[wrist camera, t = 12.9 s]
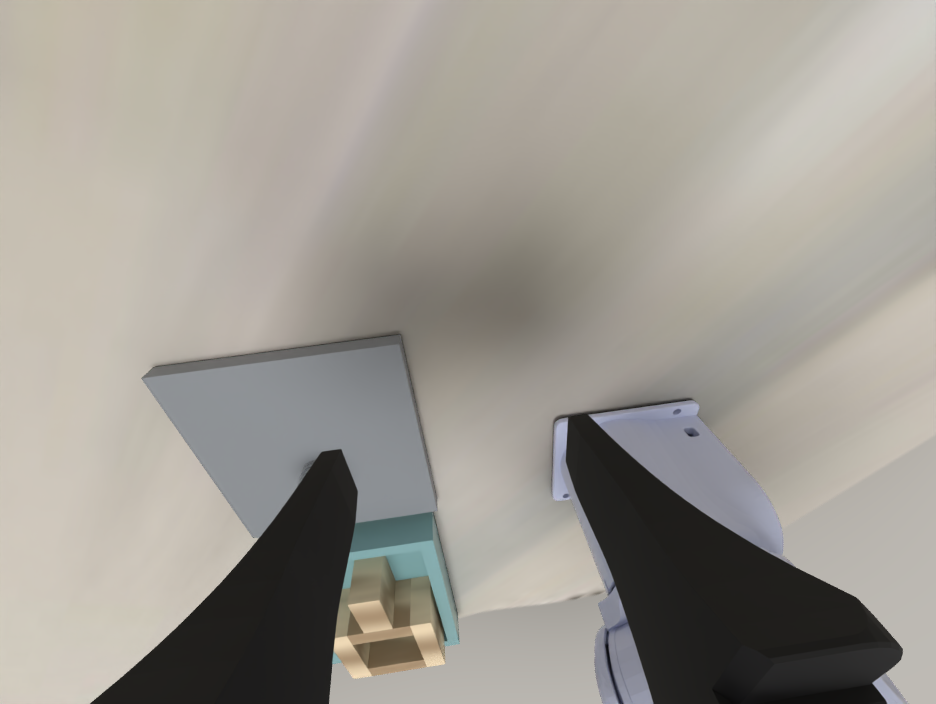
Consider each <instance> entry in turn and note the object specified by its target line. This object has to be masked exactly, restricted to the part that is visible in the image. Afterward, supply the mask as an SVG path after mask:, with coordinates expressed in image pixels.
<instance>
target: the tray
mask: <svg viewBox="0 0 936 704" xmlns="http://www.w3.org/2000/svg"><path fill="white" fill-rule="evenodd" d="M380 556H386V558H387V560H388V563H389V565H390V568H391V570H392V573H393V575H394V578H395V580H396V581H398V580H404V579H410V578H417V577H423V576H429V580H430V583H431V586H432V590H433V593H434V597H435V600H436V603H437V607H438V610H439V614H440V617H441V620H442V624H443V627H444V644H445V646H450V645H456V644H459V629H458V614H457V610H456V605H455V601H454V597H453V593H452V589H451V585H450V580H449V576H448V572H447V568H446V564H445V559H444V555H443V551H442V547H441V543H440V539H439V534H438V530H437V526H436V522H435V518H434V513H433V512H428V513H421V514H414V515H407V516H401V517H394V518H387V519H380V520H373V521H367V522H360V523H355V528H354V533H353V539H352V544H351V549H350V554H349V559H348V564H347V568H346V573H345V578H344V583H343V588H342V589H347V588H350V586H351V579H352V573H353V567H354V560H360V559H366V558H373V557H380ZM336 663H342V662H341V660H340V659H339V658H338V656H337V655H336V653H335V652H333V662H332V664H336Z"/></svg>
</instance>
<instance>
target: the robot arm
mask: <svg viewBox="0 0 936 704" xmlns="http://www.w3.org/2000/svg"><path fill="white" fill-rule="evenodd" d="M698 410H699V405H698V404H697V403H696V401H694V400H690V401H683V402H676V403H668V404H661V405H654V406H647V407H640V408H633V409H626V410H619V411H612V412H605V413H598V414H590V415H587V414H585V415H578V416H571V417H568V418H562V419H559V420H557V421H556V422H555V424H554V444H553V472H552V496H553V499H554V500H557V501H560V500H567V499H571V500H572V503H573V506H574V508H575V511H576V513H577V516H578V519H579V521H580V524H581V527H582V529H583V532H584V534H585V537H586V540H587V542H588V545H589V548H590V550H591V553H592V555H593V558H594V561H595V563H596V566H597V569H598V571H599V574H600V576H601V579H602V582H603V584H604V587H605V590H606V592H607V595H608V597H607V598H605V599H604V600H603V601H601V602H599V603H598V606H599V609H600V611H601V614H602V617H603V620H604V623H605V625H604V626H602V627H601V628H600V629H599V631H598V633H597V635H596V639H595V673H596V679H597V684H598V688H599V692H600V696H601V699H602V703H603V704H908V703H907V701H906V699H905V698H904V697H903V695H902V694H901V693H900V691H899V690H898V689H897V687H896V686H895V685H894V683H893V682H892V681H891V680H890V678H889V677H888V676H887V674H886V672H887V671H889V670H890V669H891V668H892V667H894V666H895V665H896V664H897V663H898V662H899V661H900V660H901V657H902V654H903V649H902V648H901V646H900V645H899V644H898V642H897V641H896V640H895V639H894V638H893V637H892V636H891V634H890V633H889V632H888V631H887V630H886V629H885V628H884V627H883V625H882V624H881V623H880V622H879V621H878V620H877V618H875V616H874V615H873V614H872V613H871V612H870V611H869V610H868V609H867V608H866V607H865V606H864V605H863V604H862V603H861V602H860V601H859V600H858V599H857V598H856V597H854V596H852V595H850V594H848V593H846V592H844V591H842V590H840V589H838V588H836V587H834V586H832V585H830V584H828V583H826V582H824V581H822V580H820V579H818V578H816V577H814V576H812V575H810V574H808V573H806V572H804V571H802V570H800V569H798V568H796V567H795V566H794V565H793V564H792V563H791V562H790V561H789V560H788V559H787V558H786V557H785V556H783V555H782V553H783V533H782V527H781V524H780V521H779V518H778V516H777V514H776V511H775V509H774V507H773V505H772V503H771V501H770V500H769V498H768V496H767V495H766V493H765V492H764V490H763V489H762V487H761V486H760V485H759V484H758V482H757V481H756V480H755V479H754V478H753V477H752V476H751V474H750V473H749V472H748V471H747V470H746V469H745V468H744V467H743V466H742V465H741V463H740V462H739V461H738V460H737V459H736V458H735V457H734V456H733V455H732V453H731V452H730V451H729V450H728V449H727V448H726V447H725V446H724V445H723V444H722V442H721V441H720V440H719V439H718V438H717V437H716V436H715V435H714V434H713V432H712V431H711V430H710V429H709V428H708V427H707V426H706V425H705V424H704V423H703V421H702V420H701V419H700V418H699V417H698V416H697V414H698ZM357 497H358V490H357V488H356V485H355V482H354V480H353V477H352V475H351V472H350V470H349V467H348V465H347V462H346V460H345V457H344V455H343V452H342V450H341V449H337V450H330V451H323V452H321V453H320V454H319V456H318V457H317V459H316V460H315V462H314V463H313V465H312V466H311V467H310V469H309V470H308V472H307V473H306V475H305V476H304V478H303V479H302V481H301V482H300V484H299V485H298V486H297V488H296V489H295V491H294V492H293V494H292V495H291V496H290V498H289V499H288V501H287V502H286V503H285V505H284V506H283V507H282V509H281V510H280V512H279V513H278V514H277V516H276V517H275V518H274V520H273V521H272V522H271V524H270V525H269V526H268V527H267V529H266V530H265V531H264V533H263V534H262V535H261V536H260V538H259V539H258V540H257V541H256V543H255V544H254V545H253V546H252V548H251V549H250V550H249V551H248V552H247V554H246V555H245V556H244V557H243V558H242V560H241V561H240V562H239V563H238V564H237V565H236V566H235V568H234V569H233V570H232V571H231V572H230V573H229V574H228V575H227V577H226V578H225V579H224V580H223V581H222V582H221V583H220V584H219V585H218V586H217V587H216V588H215V589H214V591H213V592H212V593H211V594H210V595H209V596H208V597H207V598H206V599H205V600H204V601H203V602H202V603H201V604H200V605H199V606H198V607H197V608H196V609H195V610H194V611H193V612H192V613H191V614H190V615H189V616H188V617H187V618H186V619H185V620H184V621H183V622H182V623H181V624H180V625H179V626H178V627H177V628H176V629H175V630H174V631H172V632H171V633H170V634H169V635H168V636H167V637H166V638H165V639H164V640H163V641H162V642H161V643H160V644H159V645H157V646H156V647H155V648H154V649H153V650H152V651H151V652H150V653H149V654H147V655H146V656H145V657H144V658H143V659H142V660H141V661H140V662H139V663H137V664H136V665H135V666H134V667H133V668H132V669H131V670H129V671H128V672H127V673H126V674H125V675H124V676H123V677H121V678H120V679H119V680H118V681H117V682H115V683H114V684H113V685H112V686H111V687H109V688H108V689H107V690H106V691H105V692H103V693H102V694H101V695H100V696H99V697H97V698H96V699H95V700H94V701H93V702H91V703H90V704H329V695H330V684H331V673H332V662H333V652H334V643H335V633H336V624H337V616H338V610H339V604H340V598H341V593H342V588H343V583H344V578H345V573H346V568H347V564H348V559H349V554H350V549H351V544H352V539H353V533H354V528H355V522H356V511H357Z"/></svg>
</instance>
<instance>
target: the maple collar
mask: <svg viewBox="0 0 936 704" xmlns="http://www.w3.org/2000/svg"><path fill="white" fill-rule="evenodd" d="M334 652H335V653H336V655H337V656H338V658H339V659H340V660H341V662H342V663H343V664H344V666H345V667H346V669H347V670H348V671H349V673H350V674H351V675H352V677H353V678H354V679H356V678H363V677H369V676H375V675H381V674H387V673H393V672H399V671H406V670H411V669H418V668H424V667H430V666H436V665H442V664H445V644H444V627H443V624H442V620H441V617H440V614H439V610H438V607H437V603H436V600H435V597H434V593H433V590H432V586H431V583H430V580H429V576H423V577H417V578H410V579H404V580H398V581H396V580H395V578H394V575H393V573H392V570H391V568H390V565H389V563H388V560H387V558H386V556H380V557H373V558H366V559H360V560H354V567H353V573H352V579H351V586H350V588H347V589H342V593H341V598H340V604H339V610H338V616H337V624H336V633H335V643H334Z"/></svg>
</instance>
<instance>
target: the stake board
mask: <svg viewBox="0 0 936 704" xmlns="http://www.w3.org/2000/svg"><path fill="white" fill-rule="evenodd" d="M141 379H142V380H143V381H144V383H145V384H146V386H147V387H148V389H149V390H150V391H151V393H152V394H153V396H154V397H155V399H156V400H157V401H158V403H159V404H160V406H161V407H162V409H163V410H164V411H165V413H166V414H167V416H168V417H169V419H170V420H171V421H172V423H173V424H174V426H175V427H176V429H177V430H178V431H179V433H180V434H181V436H182V437H183V439H184V440H185V441H186V443H187V444H188V446H189V447H190V449H191V450H192V451H193V453H194V454H195V456H196V457H197V459H198V460H199V461H200V463H201V464H202V466H203V467H204V469H205V470H206V471H207V473H208V474H209V476H210V477H211V479H212V480H213V481H214V483H215V484H216V486H217V487H218V488H219V490H220V491H221V493H222V494H223V496H224V497H225V498H226V500H227V501H228V503H229V504H230V506H231V507H232V508H233V510H234V511H235V513H236V514H237V516H238V517H239V518H240V520H241V521H242V523H243V524H244V526H245V527H246V528H247V530H248V531H249V533H250V534H251V536H252V537H253V538H258V537H260V536H261V535H262V534H263V533H264V531H265V530H266V529H267V527H268V526H269V525H270V524H271V522H272V521H273V520H274V518H275V517H276V516H277V514H278V513H279V512H280V510H281V509H282V507H283V506H284V505H285V503H286V502H287V501H288V499H289V498H290V496H291V495H292V494H293V492H294V491H295V489H296V488H297V486H298V485H299V484H300V482H301V481H302V479H303V478H304V476H305V475H306V473H307V472H308V470H309V469H310V467H311V466H312V465H313V463H314V462H315V460H316V459H317V457H318V456H319V454H320V453H321V452H323V451H330V450H337V449H341V450H342V452H343V455H344V457H345V460H346V462H347V465H348V467H349V470H350V472H351V475H352V477H353V480H354V482H355V485H356V488H357V490H358V497H357V511H356V522H355V523H360V522H367V521H373V520H380V519H387V518H394V517H401V516H407V515H414V514H421V513H428V512H435V511H437V496H436V492H435V488H434V483H433V479H432V474H431V470H430V465H429V461H428V456H427V452H426V447H425V443H424V438H423V434H422V429H421V425H420V420H419V416H418V411H417V407H416V402H415V398H414V393H413V389H412V384H411V380H410V376H409V371H408V367H407V362H406V358H405V353H404V349H403V344H402V340H401V335H393V336H385V337H378V338H370V339H362V340H355V341H347V342H340V343H332V344H325V345H317V346H310V347H302V348H295V349H287V350H279V351H272V352H264V353H257V354H249V355H242V356H234V357H227V358H219V359H211V360H204V361H196V362H189V363H181V364H174V365H166V366H159V367H153V368H152V369H151V370H150V371H149V372H148V373H147V374H146V375H145V376H143V377H142V378H141Z"/></svg>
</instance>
